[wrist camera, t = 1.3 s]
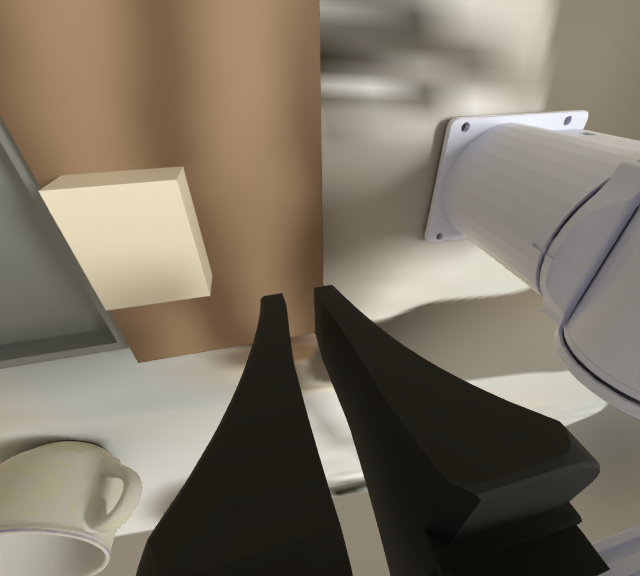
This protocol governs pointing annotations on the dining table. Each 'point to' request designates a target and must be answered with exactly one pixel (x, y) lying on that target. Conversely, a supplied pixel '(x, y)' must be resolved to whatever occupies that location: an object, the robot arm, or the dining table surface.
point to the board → (185, 139)
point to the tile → (133, 234)
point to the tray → (42, 277)
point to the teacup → (63, 509)
